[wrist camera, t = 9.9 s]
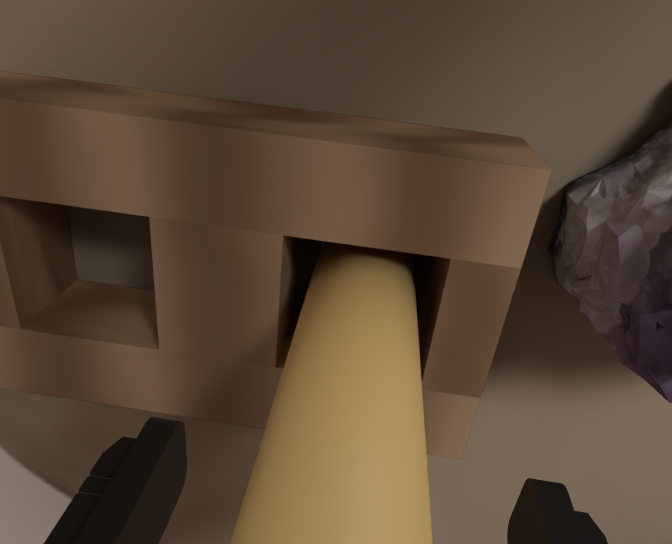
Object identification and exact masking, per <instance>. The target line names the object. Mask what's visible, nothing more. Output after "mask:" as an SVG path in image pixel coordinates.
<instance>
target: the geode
mask: <svg viewBox="0 0 672 544" xmlns="http://www.w3.org/2000/svg"><path fill="white" fill-rule="evenodd" d="M548 250H549V251H550V253H551V254H552V255H553V256H554V274H555V277H556V281H557V283H559V284H561V285H562V286H563V287H564V288H565V289H566V290H567V291H568V292H569V293H570V294H571V295H573V296H574V297H576V298H577V299H578V300H579V303H580V311H581V312H582V313H583V314H584V315H585V316H586V317H587V318H588V319H589V320H590V322H591V324H592V327H594V329H595V331H596V332H597V333H599V334H601V335H603V336H604V337H606V338H607V339H608V341H609V342H610V344H611V345H612V347H613V349H614V350H615V352H616V354H617V355H618V357H619V359H620V360H621V362H622V363H623V365H625V366H626V367H628V368H629V369H631V370H632V371H633V372H635V373H636V374H638V375H639V376H641V377H642V378H643V379H644V380H645V381H646V382H648V383H649V384H650V385H651V386H652V387H653V388H654V389H655V390H656V391H657V392H659V393H660V394H661V395H662V396H663V397H664V398H665V399H666V400H667V401H668V402H669V403H672V120H671V121H670V122H669V123H668V124H667V125H666V126H665V127H663V128H662V129H661V130H660V131H658V132H657V133H656V134H654V135H653V136H652V137H651V138H649V139H648V140H647V141H646V142H644V143H643V144H642V145H640V146H639V147H638V148H637V149H635V150H634V151H633V152H632V153H630V154H629V155H628V156H627V157H625V158H623V159H621V160H618V161H616V162H614V163H611V164H609V165H607V166H605V167H602V168H600V169H598V170H595V171H593V172H591V173H588V174H586V175H584V176H581V177H579V178H578V179H576V180H575V181H574V182H572V183H571V184H569V185H568V186H566V187H565V188H564V190H563V196H562V202H561V208H560V214H559V219H558V223H557V226H556V228H555V231H554V233H553V236H552V239H551V241H550V244H549V247H548Z"/></svg>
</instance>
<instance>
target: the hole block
mask: <svg viewBox="0 0 672 544" xmlns="http://www.w3.org/2000/svg"><path fill="white" fill-rule="evenodd" d="M551 171H552V170H551V169H550V168H549V167H548V166H547V164H546V163H545V162H544V161H543V160H542V159H541V158H540V157H539V156H538V155H537V153H536V152H535V151H534V150H533V149H532V148H531V147H530V146H529V145H528V144H527V142H526V141H525V140H524V139H523V138H520V137H512V136H504V135H496V134H488V133H481V132H473V131H465V130H457V129H449V128H442V127H434V126H426V125H418V124H410V123H403V122H395V121H387V120H379V119H371V118H363V117H356V116H348V115H340V114H332V113H324V112H317V111H309V110H301V109H293V108H285V107H277V106H270V105H262V104H254V103H246V102H238V101H231V100H223V99H215V98H207V97H199V96H192V95H184V94H176V93H168V92H160V91H152V90H145V89H137V88H129V87H121V86H113V85H106V84H98V83H90V82H82V81H74V80H66V79H59V78H51V77H43V76H35V75H27V74H20V73H12V72H4V71H0V388H4V389H11V390H17V391H24V392H30V393H36V394H43V395H49V396H56V397H62V398H69V399H75V400H81V401H88V402H94V403H101V404H107V405H114V406H120V407H126V408H133V409H139V410H146V411H152V412H159V413H165V414H171V415H178V416H184V417H191V418H197V419H204V420H210V421H216V422H223V423H229V424H236V425H242V426H249V427H255V428H261V429H265V427H266V424H267V421H268V417H269V414H270V411H271V408H272V404H273V401H274V398H275V395H276V391H277V388H278V385H279V381H280V378H281V375H282V372H283V368H284V365H285V362H286V359H287V355H288V352H289V349H290V346H291V342H292V339H293V336H294V332H295V329H296V326H297V323H298V319H299V316H300V313H301V312H296V311H294V303H295V290H296V277H297V264H298V251H299V238H306V239H313V240H320V241H327V242H334V243H342V244H349V245H356V246H363V247H370V248H378V249H385V250H392V251H399V252H406V253H414V254H421V255H428V256H432V260H431V265H430V269H429V274H428V279H427V283H426V288H425V293H424V297H423V302H422V306H421V311H420V316H419V320H418V337H419V351H420V366H421V381H422V396H423V410H424V425H425V440H426V454H429V455H435V456H441V457H448V458H454V459H462V456H463V453H464V450H465V447H466V443H467V440H468V437H469V434H470V431H471V427H472V424H473V421H474V418H475V415H476V411H477V408H478V405H479V402H480V399H481V395H482V392H483V389H484V386H485V383H486V379H487V376H488V373H489V370H490V367H491V363H492V360H493V357H494V354H495V351H496V347H497V344H498V341H499V338H500V335H501V331H502V328H503V325H504V322H505V319H506V315H507V312H508V309H509V306H510V303H511V299H512V296H513V293H514V290H515V287H516V283H517V280H518V277H519V274H520V271H521V267H522V264H523V261H524V258H525V255H526V251H527V248H528V245H529V242H530V239H531V235H532V232H533V229H534V226H535V223H536V219H537V216H538V213H539V210H540V207H541V203H542V200H543V197H544V194H545V191H546V187H547V184H548V181H549V178H550V175H551ZM65 205H68V206H75V207H82V208H90V209H97V210H104V211H111V212H118V213H126V214H133V215H140V216H147V217H149V221H150V234H151V247H152V261H153V274H154V287H155V291H152V290H145V289H138V288H131V287H124V286H117V285H110V284H104V283H97V282H90V281H83V280H77V276H76V269H75V263H74V257H73V250H72V244H71V237H70V231H69V225H68V218H67V212H66V206H65Z"/></svg>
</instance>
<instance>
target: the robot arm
mask: <svg viewBox="0 0 672 544" xmlns="http://www.w3.org/2000/svg"><path fill="white" fill-rule="evenodd" d="M186 472H187V458H186V441H185V427H184V423H183V422H180V421H173V420H167V419H161V418H154V417H151V418H150V419H149V420H148V421H147V422H146V424H145V425H144V427H143V429H142V430H141V432H140V434H139V435H138V437H137V439H134V438H128V437H122V438H121V439H120V440H118V441H117V442H116V443H115V444H113V445H112V446H111V447H110V448H108V449H107V450H106V451H105V452H103V454H102V455H101V457H100V458H99V460H98V461H97V463H96V464H95V466H94V467H93V469H92V470H91V472H90V475H89V477H87V478H86V480H85V481H84V483H83V484H82V486H81V487H80V489H79V492H78V494H76V495H75V497H74V498H73V500H72V501H71V503H70V504H69V506H68V507H67V509H66V511H65V512H64V513H63V515H62V517H61V518H60V520H59V521H58V523H57V524H56V526H55V527H54V529H53V530H52V532H51V533H50V535H49V536H48V538H47V540H46V541H45V543H44V544H159V541H160V539H161V537H162V535H163V532H164V530H165V528H166V526H167V523H168V521H169V519H170V517H171V514H172V512H173V510H174V508H175V505H176V503H177V501H178V499H179V496H180V494H181V492H182V489H183V486H184V482H185V478H186ZM507 541H508V544H608V543H607V540H606V537H605V535H604V534H603V533H602V532H601V530H600V529H599V528H598V526H597V525H596V524H595V522H594V521H593V520H592V518H591V517H590V516H589V514H588V513H584V512H578V511H574V509H573V506H572V503H571V500H570V497H569V494H568V491H567V489H566V487H565V486H564V485H563V484H561V483H556V482H549V481H543V480H537V479H531V478H528V479H527V480H526V481H525V483H524V485H523V488H522V490H521V493H520V495H519V498H518V500H517V503H516V505H515V507H514V510H513V512H512V515H511V517H510V520H509V524H508V533H507Z"/></svg>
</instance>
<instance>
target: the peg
mask: <svg viewBox="0 0 672 544" xmlns="http://www.w3.org/2000/svg"><path fill="white" fill-rule="evenodd" d="M230 544H433V543H432V528H431V513H430V499H429V484H428V469H427V454H426V440H425V425H424V410H423V396H422V381H421V366H420V351H419V337H418V322H417V307H416V293H415V278H414V263H413V256H412V253H406V252H399V251H392V250H385V249H378V248H370V247H363V246H356V245H349V244H342V243H334V242H327V241H324V242H323V244H322V246H321V248H320V251H319V254H318V257H317V261H316V264H315V267H314V270H313V274H312V277H311V280H310V283H309V287H308V290H307V293H306V297H305V300H304V303H303V306H302V310H301V313H300V316H299V319H298V323H297V326H296V329H295V332H294V336H293V339H292V342H291V346H290V349H289V352H288V355H287V359H286V362H285V365H284V368H283V372H282V375H281V378H280V381H279V385H278V388H277V391H276V395H275V398H274V401H273V404H272V408H271V411H270V414H269V417H268V421H267V424H266V427H265V430H264V434H263V437H262V440H261V444H260V447H259V450H258V453H257V457H256V460H255V463H254V466H253V470H252V473H251V476H250V480H249V483H248V486H247V489H246V493H245V496H244V499H243V502H242V506H241V509H240V512H239V515H238V519H237V522H236V525H235V529H234V532H233V535H232V538H231V542H230Z"/></svg>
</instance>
